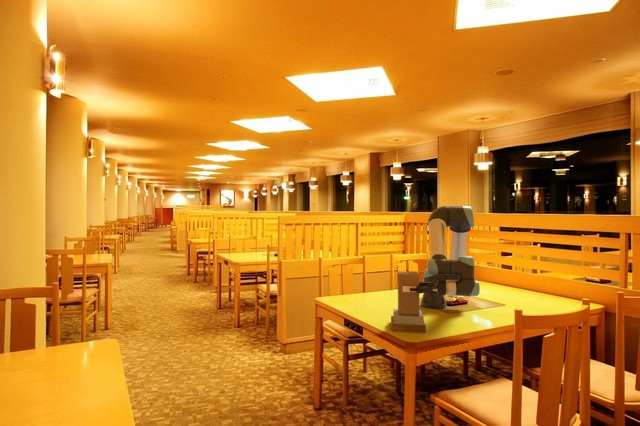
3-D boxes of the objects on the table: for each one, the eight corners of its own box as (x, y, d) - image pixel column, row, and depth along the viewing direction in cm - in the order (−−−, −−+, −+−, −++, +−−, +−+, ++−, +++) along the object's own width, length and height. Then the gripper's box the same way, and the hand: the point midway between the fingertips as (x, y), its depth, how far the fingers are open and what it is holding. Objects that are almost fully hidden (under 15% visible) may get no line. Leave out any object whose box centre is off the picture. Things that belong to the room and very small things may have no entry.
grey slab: (393, 316, 211) (393, 308, 211) (420, 317, 208) (420, 309, 208) (394, 324, 197) (394, 315, 197) (423, 325, 195) (423, 317, 195)
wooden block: (419, 315, 197) (419, 274, 197) (398, 314, 198) (398, 273, 198) (417, 310, 206) (417, 271, 207) (397, 310, 208) (397, 271, 208)
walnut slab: (391, 323, 212) (391, 316, 211) (422, 325, 209) (422, 317, 209) (391, 332, 196) (391, 324, 196) (425, 334, 193) (425, 326, 193)
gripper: (449, 300, 187) (403, 299, 190) (442, 290, 212) (400, 288, 215) (449, 284, 187) (403, 283, 190) (442, 275, 212) (400, 274, 215)
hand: (401, 286), depth 203 cm, fingers open, 13 cm apart
